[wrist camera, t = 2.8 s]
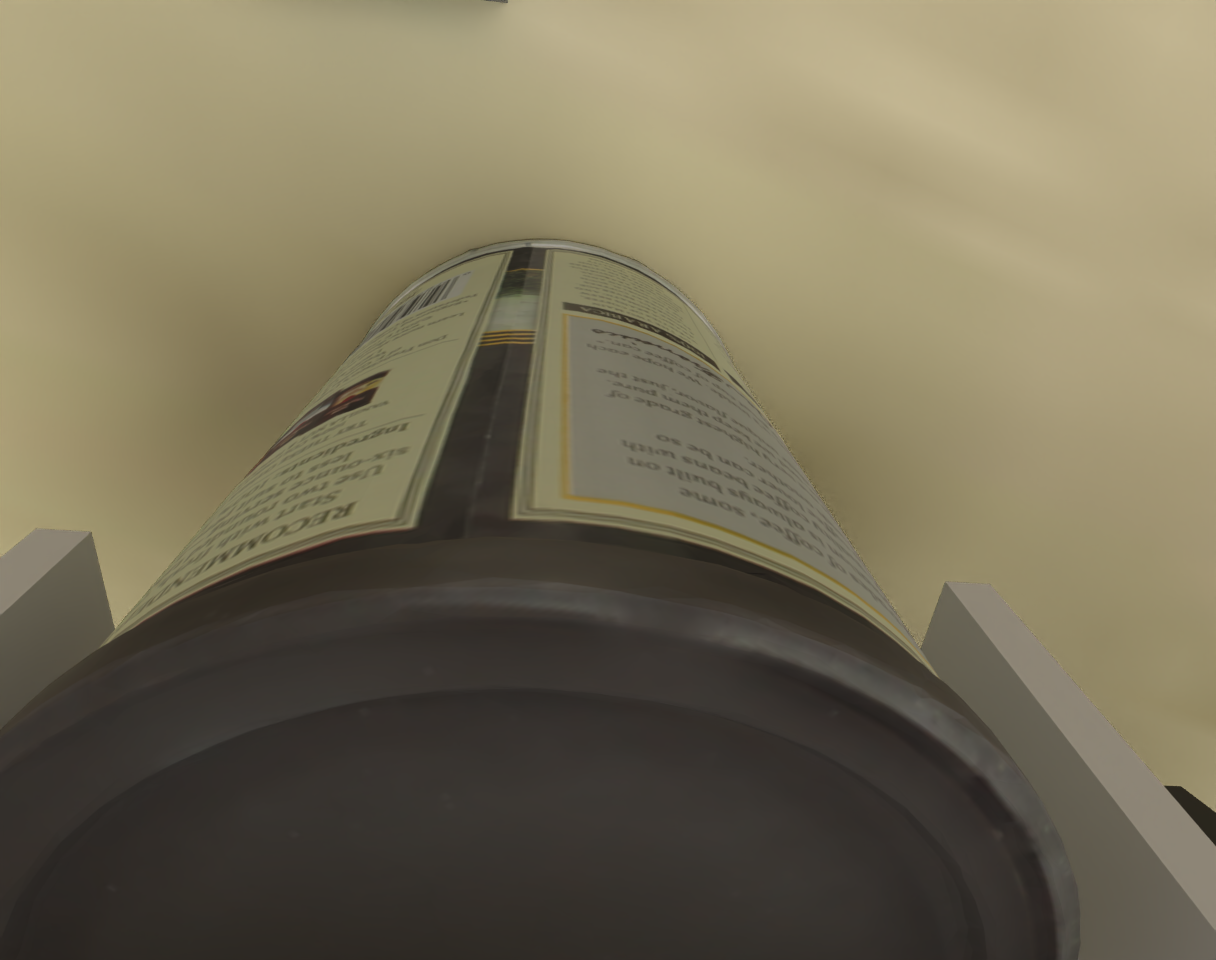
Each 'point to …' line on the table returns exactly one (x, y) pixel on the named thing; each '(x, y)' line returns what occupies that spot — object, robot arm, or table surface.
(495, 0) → the blue-gray block
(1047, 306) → the table surface
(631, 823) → the coffee can
